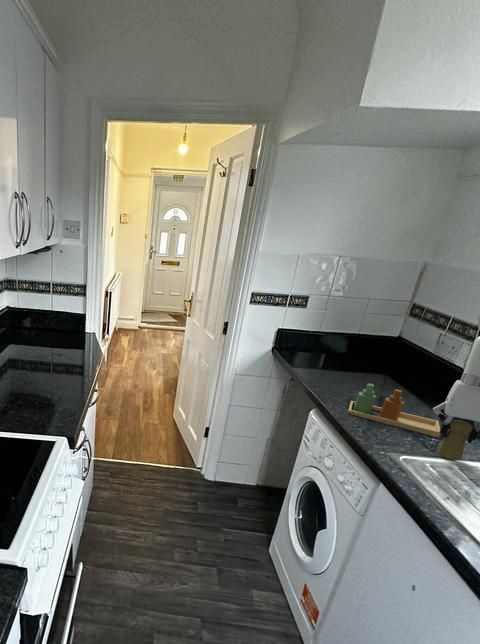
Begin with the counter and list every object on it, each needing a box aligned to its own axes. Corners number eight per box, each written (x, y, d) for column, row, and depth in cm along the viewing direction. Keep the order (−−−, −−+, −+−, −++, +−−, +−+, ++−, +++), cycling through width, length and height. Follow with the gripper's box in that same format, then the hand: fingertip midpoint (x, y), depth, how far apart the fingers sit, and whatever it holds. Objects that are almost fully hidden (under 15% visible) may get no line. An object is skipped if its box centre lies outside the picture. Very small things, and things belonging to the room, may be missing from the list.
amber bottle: (397, 417, 152) (407, 390, 148) (397, 423, 148) (408, 394, 143) (379, 413, 155) (389, 386, 150) (378, 418, 150) (389, 390, 146)
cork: (459, 462, 120) (473, 428, 115) (433, 453, 124) (446, 421, 120) (464, 455, 123) (478, 422, 119) (439, 447, 127) (452, 415, 123)
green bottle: (370, 411, 156) (380, 384, 152) (369, 416, 152) (379, 388, 147) (353, 407, 159) (362, 380, 155) (352, 412, 155) (361, 384, 150)
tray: (436, 425, 149) (438, 420, 148) (438, 437, 140) (441, 432, 139) (349, 405, 162) (351, 400, 161) (346, 414, 153) (348, 410, 152)
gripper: (517, 383, 113) (491, 441, 120) (439, 371, 122) (419, 426, 129) (523, 391, 107) (496, 452, 114) (441, 377, 116) (420, 435, 123)
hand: (455, 438), depth 121 cm, fingers closed on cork, 5 cm apart
